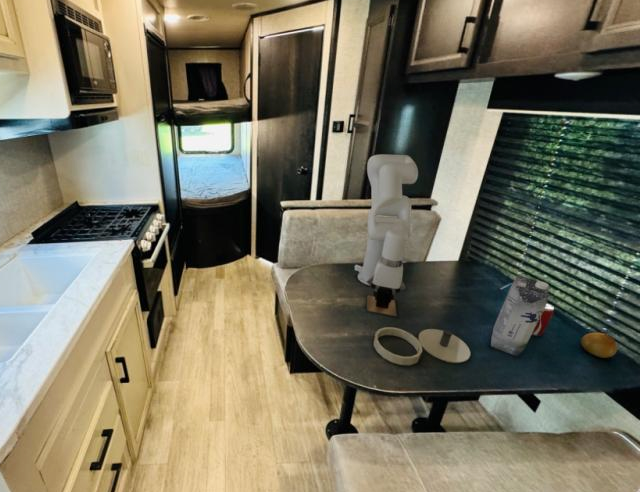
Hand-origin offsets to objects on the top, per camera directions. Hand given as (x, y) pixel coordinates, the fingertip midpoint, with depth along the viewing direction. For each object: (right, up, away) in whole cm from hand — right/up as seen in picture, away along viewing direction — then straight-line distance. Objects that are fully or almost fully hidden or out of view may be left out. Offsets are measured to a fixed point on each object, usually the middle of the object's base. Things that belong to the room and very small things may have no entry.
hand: (382, 299), depth 129 cm
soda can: (+50, -10, -12) cm, 52 cm away
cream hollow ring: (-5, -14, -20) cm, 25 cm away
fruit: (+63, -14, -22) cm, 68 cm away
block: (0, -3, +1) cm, 3 cm away
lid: (+12, -12, -19) cm, 26 cm away
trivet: (0, -3, +2) cm, 4 cm away
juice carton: (+34, -13, -19) cm, 41 cm away
